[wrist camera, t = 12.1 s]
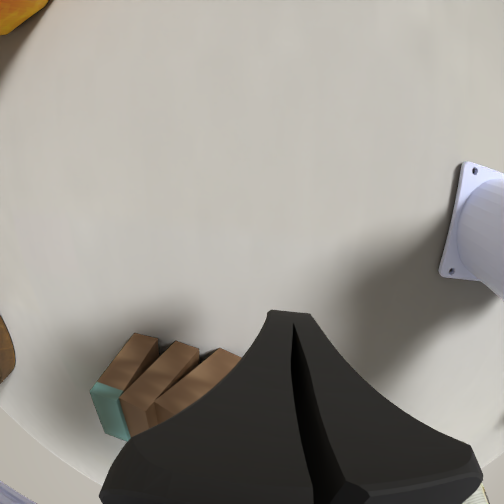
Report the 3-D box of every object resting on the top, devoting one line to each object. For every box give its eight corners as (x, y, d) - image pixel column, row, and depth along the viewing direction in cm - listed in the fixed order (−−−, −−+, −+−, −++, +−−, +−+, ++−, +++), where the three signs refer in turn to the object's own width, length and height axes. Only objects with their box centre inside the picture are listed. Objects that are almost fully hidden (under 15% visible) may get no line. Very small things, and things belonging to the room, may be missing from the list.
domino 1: (157, 338, 22) (116, 401, 16) (162, 380, 24) (129, 442, 17) (134, 332, 23) (89, 391, 16) (140, 375, 24) (105, 433, 18)
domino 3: (243, 358, 21) (179, 417, 16) (238, 400, 23) (184, 456, 17) (219, 347, 22) (154, 401, 16) (218, 390, 24) (161, 442, 18)
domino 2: (199, 349, 22) (145, 411, 16) (199, 391, 23) (154, 451, 17) (175, 340, 22) (118, 397, 16) (178, 383, 24) (131, 438, 18)
